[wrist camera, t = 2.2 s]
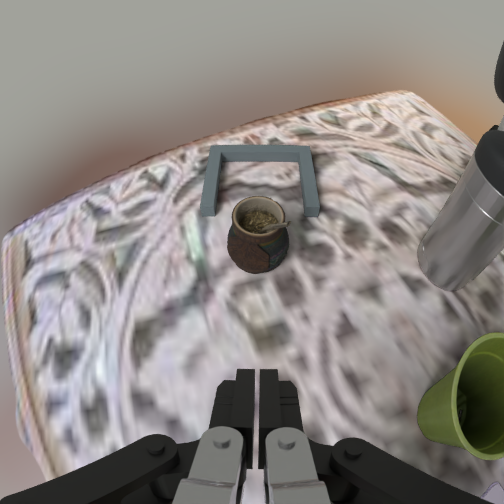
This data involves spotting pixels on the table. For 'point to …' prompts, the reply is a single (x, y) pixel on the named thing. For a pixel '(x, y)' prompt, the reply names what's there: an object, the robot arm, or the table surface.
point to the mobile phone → (494, 494)
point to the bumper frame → (260, 154)
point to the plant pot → (469, 401)
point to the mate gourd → (258, 235)
